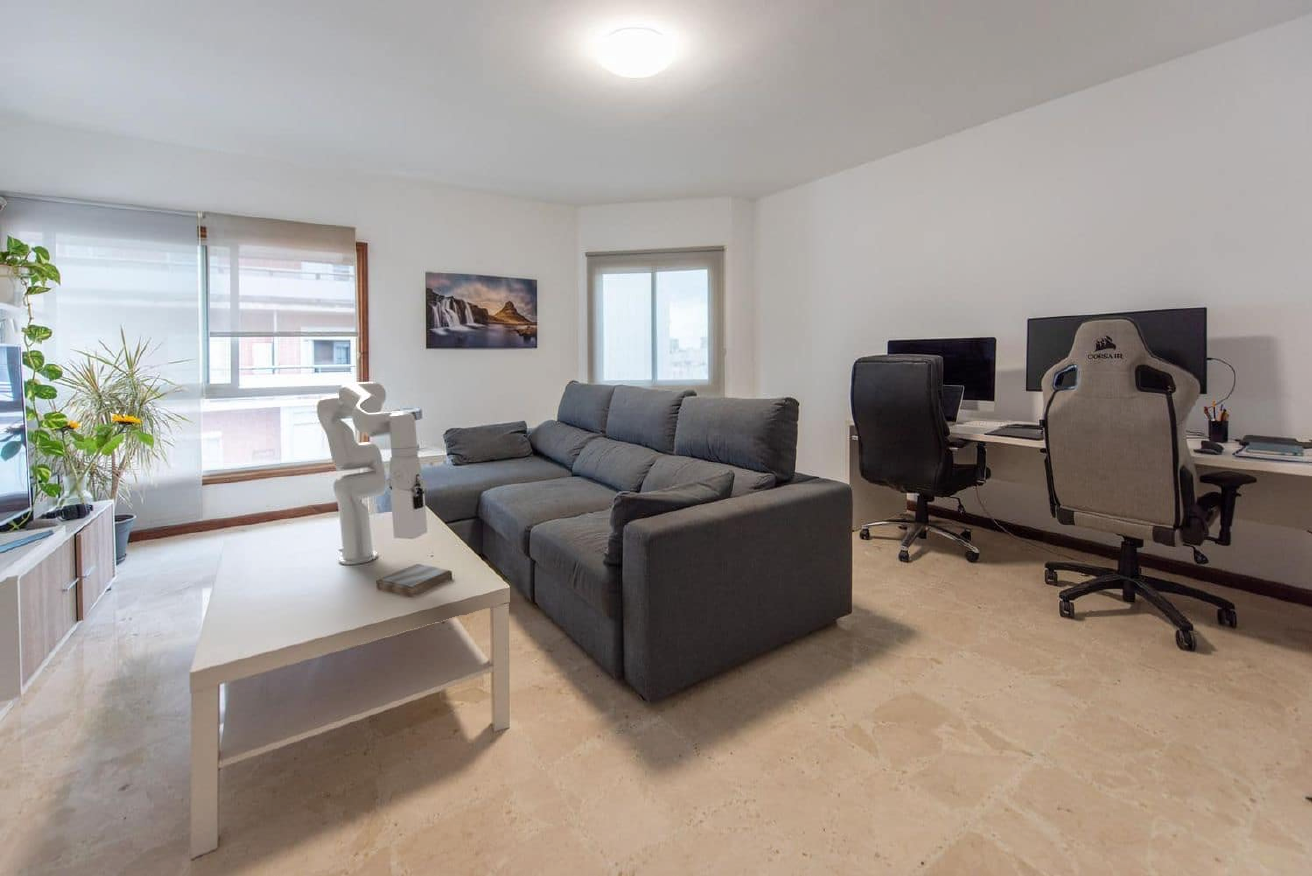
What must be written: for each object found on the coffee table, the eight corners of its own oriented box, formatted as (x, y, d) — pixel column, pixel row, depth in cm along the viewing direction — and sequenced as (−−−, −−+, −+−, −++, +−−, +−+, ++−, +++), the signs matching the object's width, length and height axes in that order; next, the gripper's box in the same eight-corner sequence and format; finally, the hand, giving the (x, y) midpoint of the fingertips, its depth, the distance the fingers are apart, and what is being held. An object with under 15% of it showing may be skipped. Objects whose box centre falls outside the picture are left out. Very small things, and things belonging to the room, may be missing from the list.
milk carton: (414, 539, 178) (409, 480, 175) (393, 538, 179) (389, 479, 176) (427, 532, 184) (423, 475, 182) (407, 531, 186) (403, 474, 183)
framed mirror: (376, 588, 180) (375, 579, 180) (418, 571, 194) (417, 563, 194) (411, 597, 173) (411, 587, 173) (452, 578, 187) (451, 570, 187)
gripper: (375, 452, 179) (380, 506, 181) (414, 456, 171) (418, 512, 173) (395, 449, 185) (400, 501, 188) (434, 452, 178) (437, 506, 180)
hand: (408, 506), depth 180 cm, fingers closed on milk carton, 8 cm apart
